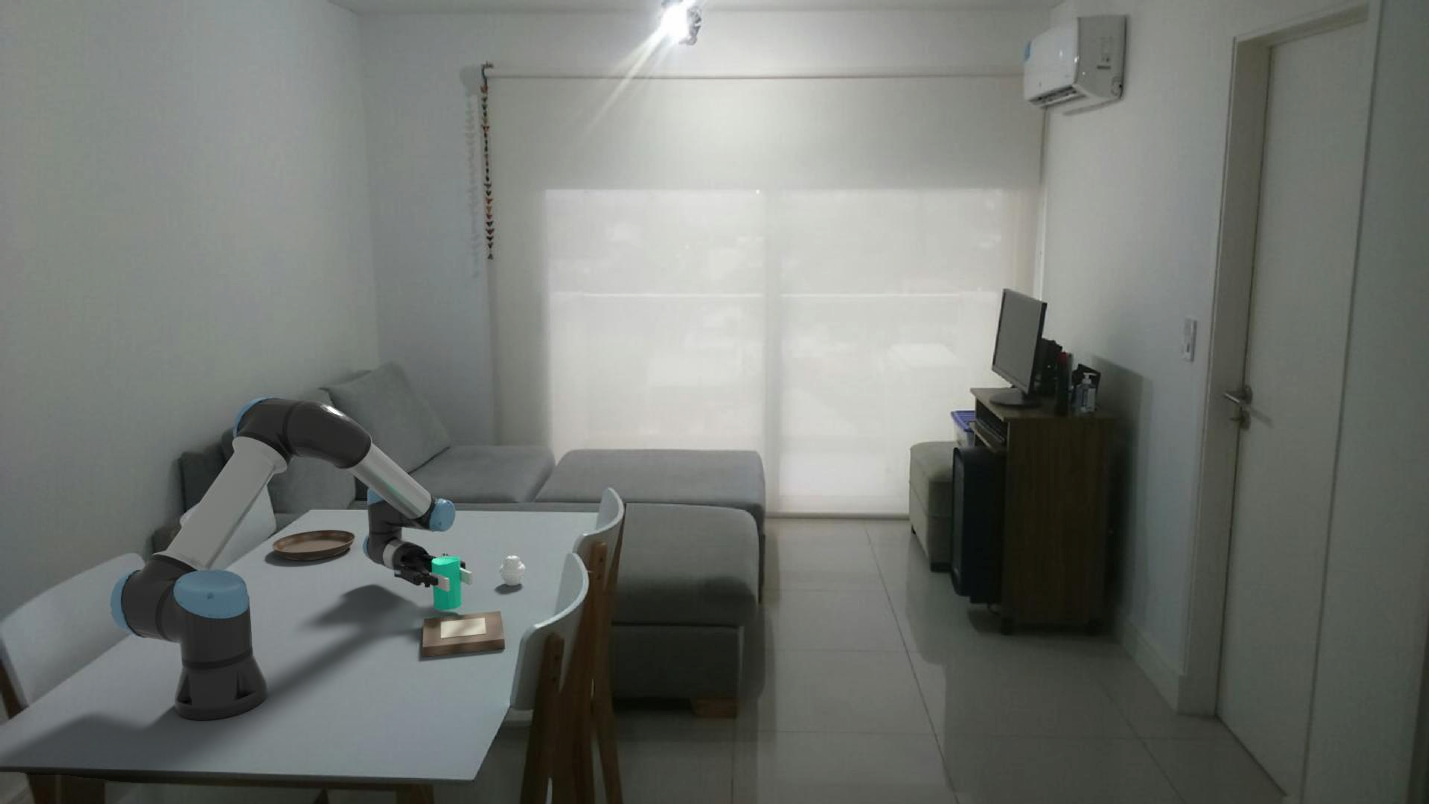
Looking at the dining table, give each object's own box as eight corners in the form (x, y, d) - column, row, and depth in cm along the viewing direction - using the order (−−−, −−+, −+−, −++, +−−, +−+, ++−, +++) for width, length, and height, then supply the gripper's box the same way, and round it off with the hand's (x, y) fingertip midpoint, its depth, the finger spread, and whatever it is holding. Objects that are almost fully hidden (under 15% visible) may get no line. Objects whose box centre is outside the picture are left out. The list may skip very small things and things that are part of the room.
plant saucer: (270, 546, 285) (269, 534, 284) (351, 536, 293) (350, 524, 293) (274, 568, 266) (273, 556, 266) (360, 557, 275) (359, 545, 274)
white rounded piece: (529, 579, 256) (528, 551, 255) (522, 588, 250) (520, 559, 249) (504, 578, 257) (502, 551, 255) (496, 587, 251) (495, 559, 249)
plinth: (423, 656, 211) (422, 646, 211) (424, 627, 227) (424, 617, 226) (504, 648, 215) (504, 638, 215) (500, 619, 230) (500, 610, 230)
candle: (467, 604, 234) (464, 552, 232) (443, 612, 230) (441, 558, 228) (452, 598, 238) (449, 547, 236) (428, 605, 234) (425, 553, 232)
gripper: (442, 565, 253) (495, 588, 236) (371, 583, 240) (422, 609, 224) (440, 534, 251) (494, 556, 235) (369, 551, 239) (420, 574, 222)
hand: (459, 581), depth 229 cm, fingers closed on candle, 5 cm apart
